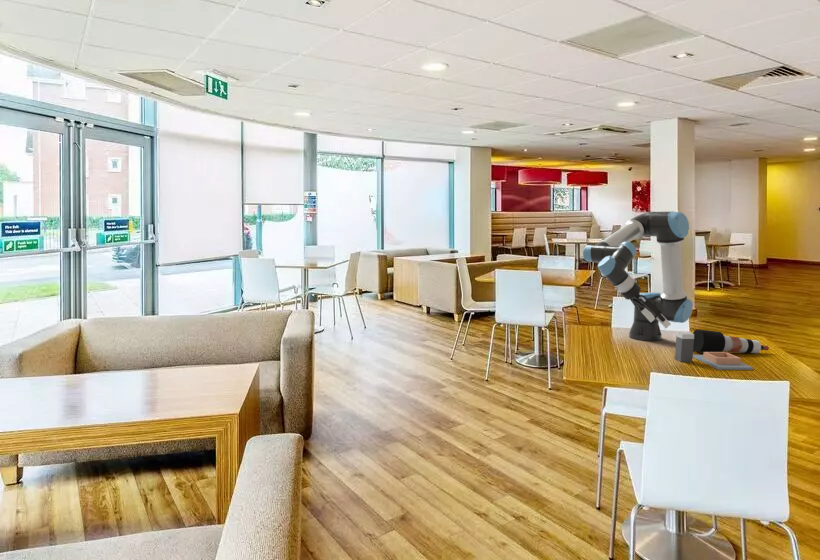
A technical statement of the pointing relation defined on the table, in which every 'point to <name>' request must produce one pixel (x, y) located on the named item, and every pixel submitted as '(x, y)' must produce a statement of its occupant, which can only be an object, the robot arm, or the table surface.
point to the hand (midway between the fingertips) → (660, 323)
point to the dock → (722, 361)
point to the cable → (724, 343)
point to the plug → (684, 346)
